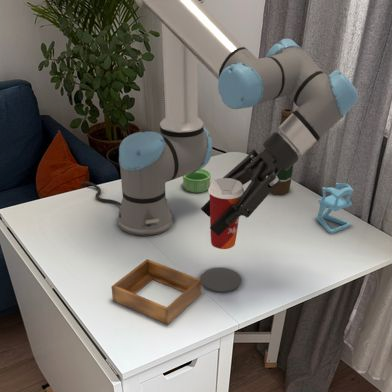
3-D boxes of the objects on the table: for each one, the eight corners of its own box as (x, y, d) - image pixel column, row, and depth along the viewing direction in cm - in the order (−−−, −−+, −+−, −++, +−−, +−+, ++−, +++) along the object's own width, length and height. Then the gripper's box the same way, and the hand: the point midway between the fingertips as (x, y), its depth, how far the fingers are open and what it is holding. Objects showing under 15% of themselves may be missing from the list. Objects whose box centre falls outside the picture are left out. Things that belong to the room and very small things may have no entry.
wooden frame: (112, 300, 118) (111, 286, 115) (147, 272, 126) (146, 258, 124) (168, 324, 112) (168, 310, 109) (201, 293, 120) (201, 279, 118)
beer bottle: (272, 197, 157) (283, 116, 141) (260, 186, 163) (269, 107, 146) (294, 193, 160) (307, 112, 143) (281, 182, 165) (292, 104, 149)
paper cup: (240, 252, 114) (245, 193, 105) (206, 251, 114) (208, 192, 105) (239, 234, 120) (243, 177, 111) (206, 233, 120) (208, 176, 111)
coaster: (192, 283, 123) (192, 282, 123) (213, 264, 130) (213, 263, 129) (228, 297, 120) (228, 296, 119) (248, 277, 126) (248, 275, 125)
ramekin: (204, 195, 157) (205, 182, 154) (177, 190, 159) (177, 177, 156) (214, 184, 163) (215, 170, 160) (188, 179, 166) (188, 165, 163)
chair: (329, 214, 150) (338, 175, 142) (350, 226, 145) (360, 186, 137) (310, 221, 147) (317, 181, 139) (330, 234, 142) (340, 193, 134)
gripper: (317, 176, 100) (232, 256, 108) (282, 137, 114) (209, 210, 122) (296, 151, 95) (209, 236, 103) (261, 113, 110) (188, 190, 118)
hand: (209, 221), depth 113 cm, fingers closed on paper cup, 8 cm apart
